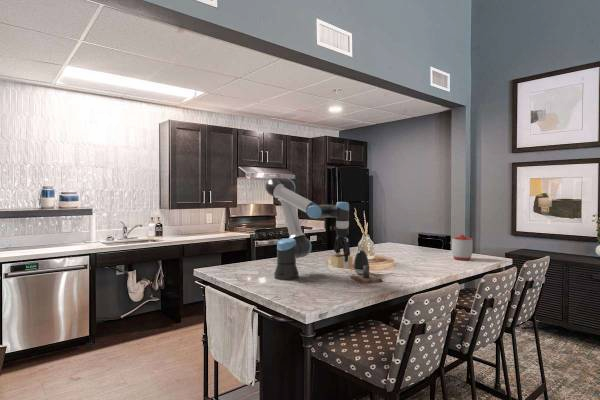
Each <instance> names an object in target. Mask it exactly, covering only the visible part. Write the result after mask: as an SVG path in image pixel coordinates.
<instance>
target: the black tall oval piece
mask: <svg viewBox="0 0 600 400" xmlns="http://www.w3.org/2000/svg"><path fill="white" fill-rule="evenodd" d="M367 255H368V254H367V253H366V251H364V250H363V249H361V250H358V251H357V253H356V254H355V257H354V261H353V265H352V268H353V270H354V272H355V274H358V275H363V266H364V265H367V266H369V267H370V263H369V258H368V256H367Z"/></svg>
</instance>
